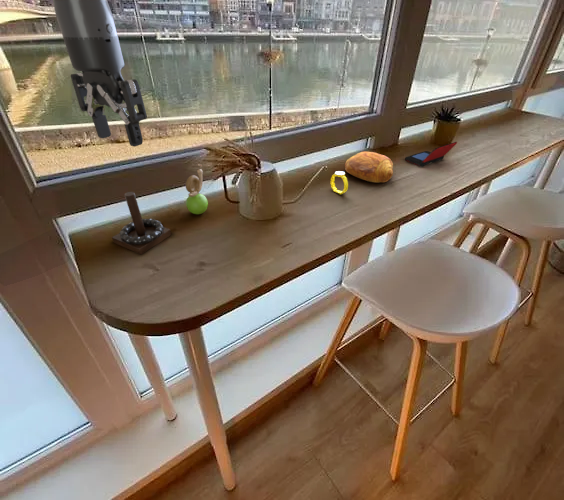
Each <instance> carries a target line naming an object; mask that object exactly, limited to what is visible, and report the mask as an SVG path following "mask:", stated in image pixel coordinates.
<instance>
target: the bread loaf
mask: <svg viewBox="0 0 564 500" xmlns="http://www.w3.org/2000/svg"><path fill="white" fill-rule="evenodd" d="M393 167H394V163H393V161H392V160H391V158H389V157H388V156H386V155H383V154H380V153H377V152H375V151H374V152H373V151H364V150H363V151H361V152H358V153H356V154H354V155H353V156H350V157H349V158H348V159H346V161H345V164H344V169H345V171H346V172H345V173H348V174H349V175H351V176H353V177H355V178H358V179H360V180H363V181H367V182H370V183H386V182H388V181H390V179H391V178H393V176H394V168H393Z"/></svg>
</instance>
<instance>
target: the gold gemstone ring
mask: <svg viewBox="0 0 564 500" xmlns="http://www.w3.org/2000/svg"><path fill="white" fill-rule="evenodd" d="M336 177H338V178H341V180H342V181H343V189H342V190H340V189H338V188H337V187H336V183H335V178H336ZM329 182H330V183H329V184H330V187H331V190H332V192H335V193H337V194H338V195H343V194H345V193H346V192H347V191H348V189H349V181H348V178H347V177H346V172H345V171H341V170H338V171H335V172H334V174H332V175H331V177H330V181H329Z"/></svg>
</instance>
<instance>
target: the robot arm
mask: <svg viewBox="0 0 564 500" xmlns="http://www.w3.org/2000/svg"><path fill="white" fill-rule="evenodd" d="M52 4H53V9H54V14H55V17H56V20H57V23H58V27H59V29H60V33H61V35H62V39H63V42H64V45H65V48H66V51H67V54H68V57H69V60H70V63H71V66H72V68H73V69H74V70H75V71H78V72H77V73H71V74H70V79H71V82H72V86H73V90H74V93H75V95H76V98H77V99H76V100H77V101H78V105H79V109H80V110H81V111H82V112H86V113H87V114H88V116H89V117H91V119H92V122H93V126H94V129H95V131H96V134H97V136H98V138H99V139H106V138H109V137H111V136H112V133H111V129H110V126H109V123H108V120H107V116H106V115H105V112H106V107H109V108H111V109H112V111H113V112H114V113H116V114H118V115H119V116H120V119H122V121H123V122H124V128H125V132H126V136H127V139H128V143H129V145H130V146H131V147H134V148H135V147H138V146H141V145H143V142H144V141H143V140H144V139H143V134H142V131H141V126H140V122H142V121H143V120H147V118H148V115H147V110H146V107H145V103H144V99H143V95H142V92H141V88H140V84H139V81H138V80H137V79H136V78H133V79H126V80H125V79H124V77H123V75H122V71H121V70H122V69H124V68H125V61H124V57H123V52H122V48H121V44H120V40H119V36H118V33H117V28H116V24H115V20H114V16H113V13H112V10H111V7H110V4H109V1H108V0H52ZM85 97H86V98H85ZM85 99H86V100H85ZM123 102H124V103H123ZM136 107H137V110H136V109H135V108H136ZM126 111H127V112H128V114H127V112H126ZM137 111H138V112H137Z"/></svg>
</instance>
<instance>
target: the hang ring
mask: <svg viewBox="0 0 564 500" xmlns="http://www.w3.org/2000/svg"><path fill="white" fill-rule="evenodd" d="M142 220H143V223H144V226H153V227H156V230H155V231H154V232H152V233H151V234H149V235H146V236H142V237H131V236H128V233H129V232H130V231H131V230H133V229H135V227H134V223H133V221H131V222H129V223H127V224H125V225H124V226H123V227H122V228H121V230H120V231H119V233H120V237H121V240H122V241H124V242H126V243H128V244H145V243H148V242H152V241H154V240H155V239H157V238H158V237H160V236H161V234H162V232H163V231H164V227H165V226H163V224H162V222H161V221H160V220H156V219H155V218H142Z"/></svg>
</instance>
